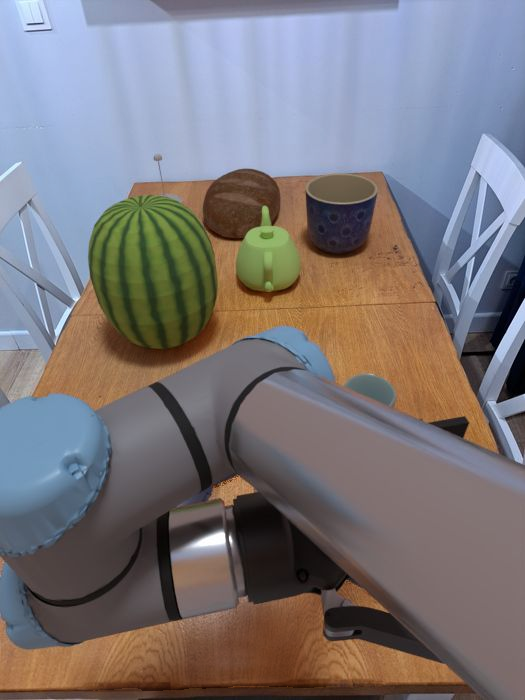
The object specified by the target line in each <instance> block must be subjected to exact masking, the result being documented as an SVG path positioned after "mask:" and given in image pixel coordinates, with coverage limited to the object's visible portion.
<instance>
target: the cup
mask: <svg viewBox="0 0 525 700" xmlns="http://www.w3.org/2000/svg"><path fill="white" fill-rule="evenodd" d="M343 386H344V387H347V388H349V389H351V390H353V391H356V392H358V393H360V394H363V395H365V396H367V397H370V398H372V399H374V400H376V401H379V402H381V403H383V404H386V405H388V406H390V407H392V408H395V407H396V402H397V392H396V389H395V388H394V386H393V385H392V384H391V383H390V382H389V381H388V380H386V379H385V378H383V377H381V376H379V375H376V374H373V373H360V374H356V375H354V376H352V377H350V378H349V379H348V380H346V382H344V385H343Z"/></svg>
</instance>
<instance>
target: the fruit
mask: <svg viewBox="0 0 525 700" xmlns="http://www.w3.org/2000/svg"><path fill="white" fill-rule="evenodd" d="M87 251H88V253H87V260H88V261H87V263H88V264H87V265H88V272H89V278H90V281H91V284H92V287H93V290H94V291H93V292H94V294H95V297H96V300H97V303H98V306H99V307H100V309H101V311H102V313H103V315H104V316H105V318H106V320H107V321H108V323H110V324H111V326H112V327H113V328H114V329H115V330H116V331H117V333H119V334H120V335H121V336H122V337H123V338H125V339H126V340H128V341H129V342H130V343H132V344H134V345H136V346H140V347H143V348H149V349H154V350H155V349H157V350H166V349H171V348H172V349H173V348H175V347H179V346H182V345H184V344H186V343H188V342H189V341H191V340H193V339H194V338H196V337H197V336H198V335H200V333H201V332H202V331H203V330H204V329H205V328H206V326H207V324H208V322H209V320H210V319H211V317H212V315H213V312H214V309H215V305H216V302H217V300H218V299H217V298H218V289H219V284H218V283H219V281H218V273H217V264H216V257H215V255H216V254H215V251H214V248H213V244H212V241H211V239H210V237H209V235H208V233H207V231H206V229H205V227H204V225H203V223H202V222H201V221H200V219H199V218H198V217H197V215H196V214H195V213H194V212H193V211H192V210H191V209H190V208H189V207H187V206H186V205H185V204H183V203H182V204H181V203H179V202H178V201H176V200H174V199H172V198H168V197H164V196H158V195H153V194H144V195H143V194H142V195H141V194H140V195H135V196H131V197H128V198H124V199H122V200H120V201H118V202H116V203H114V204H112V205H110V206H109V207H108V208H106V209H105V210H104V211H103V213H102V214H101V215H100V216H99V218H98V219H97V220H96V222H95V223H94V225H93V229H92V232H91V235H90V239H89V242H88V249H87Z"/></svg>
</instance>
